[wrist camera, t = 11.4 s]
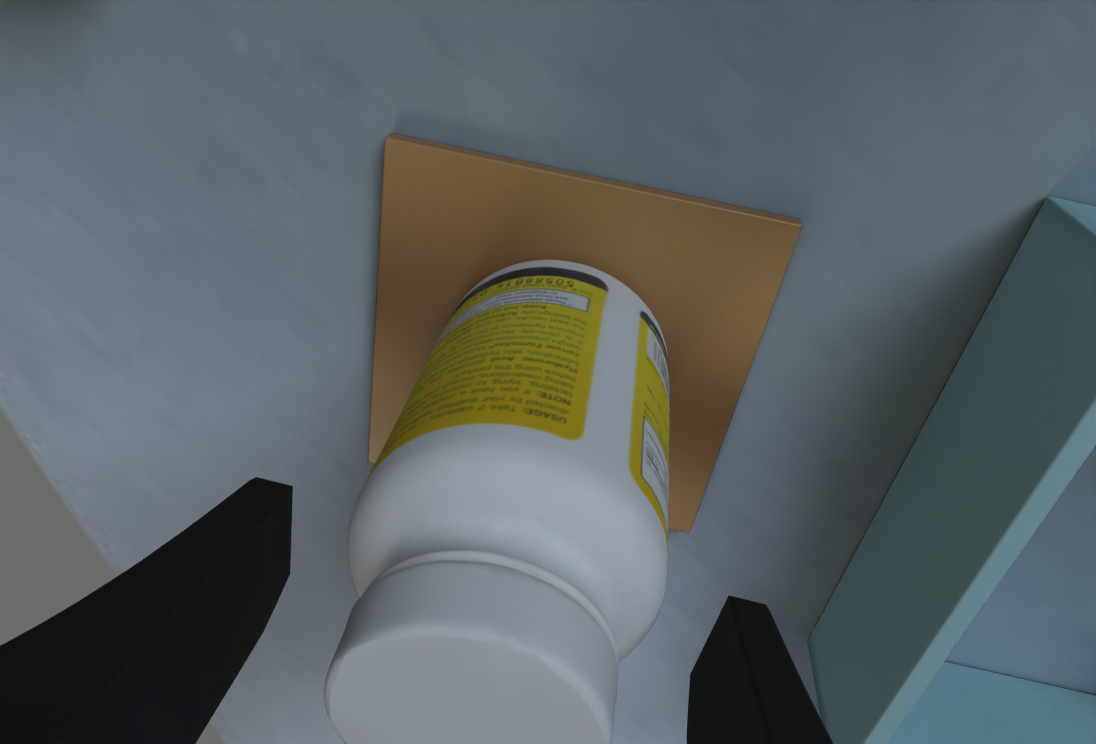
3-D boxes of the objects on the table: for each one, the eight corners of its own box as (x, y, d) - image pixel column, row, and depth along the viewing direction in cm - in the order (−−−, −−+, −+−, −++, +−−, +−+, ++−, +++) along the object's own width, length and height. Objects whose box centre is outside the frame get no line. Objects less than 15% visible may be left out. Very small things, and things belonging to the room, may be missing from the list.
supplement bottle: (404, 361, 19) (204, 710, 11) (539, 204, 17) (407, 508, 8) (570, 482, 21) (502, 876, 12) (719, 354, 18) (759, 746, 10)
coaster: (689, 524, 21) (689, 534, 21) (371, 453, 21) (367, 462, 21) (800, 218, 16) (803, 225, 16) (390, 132, 17) (384, 137, 16)
